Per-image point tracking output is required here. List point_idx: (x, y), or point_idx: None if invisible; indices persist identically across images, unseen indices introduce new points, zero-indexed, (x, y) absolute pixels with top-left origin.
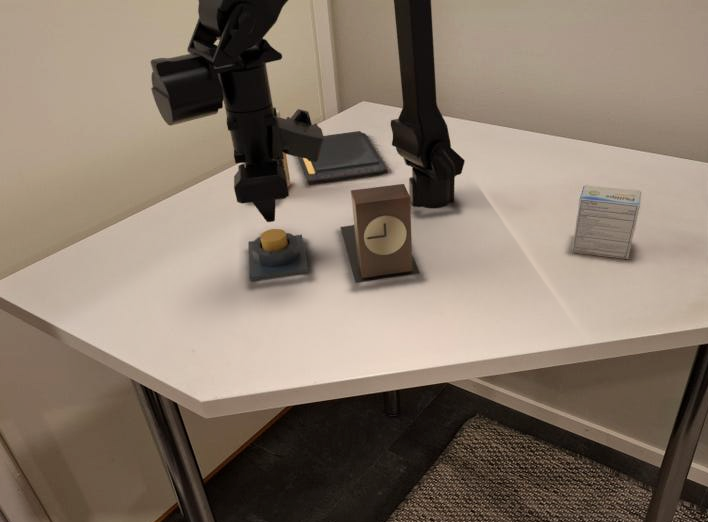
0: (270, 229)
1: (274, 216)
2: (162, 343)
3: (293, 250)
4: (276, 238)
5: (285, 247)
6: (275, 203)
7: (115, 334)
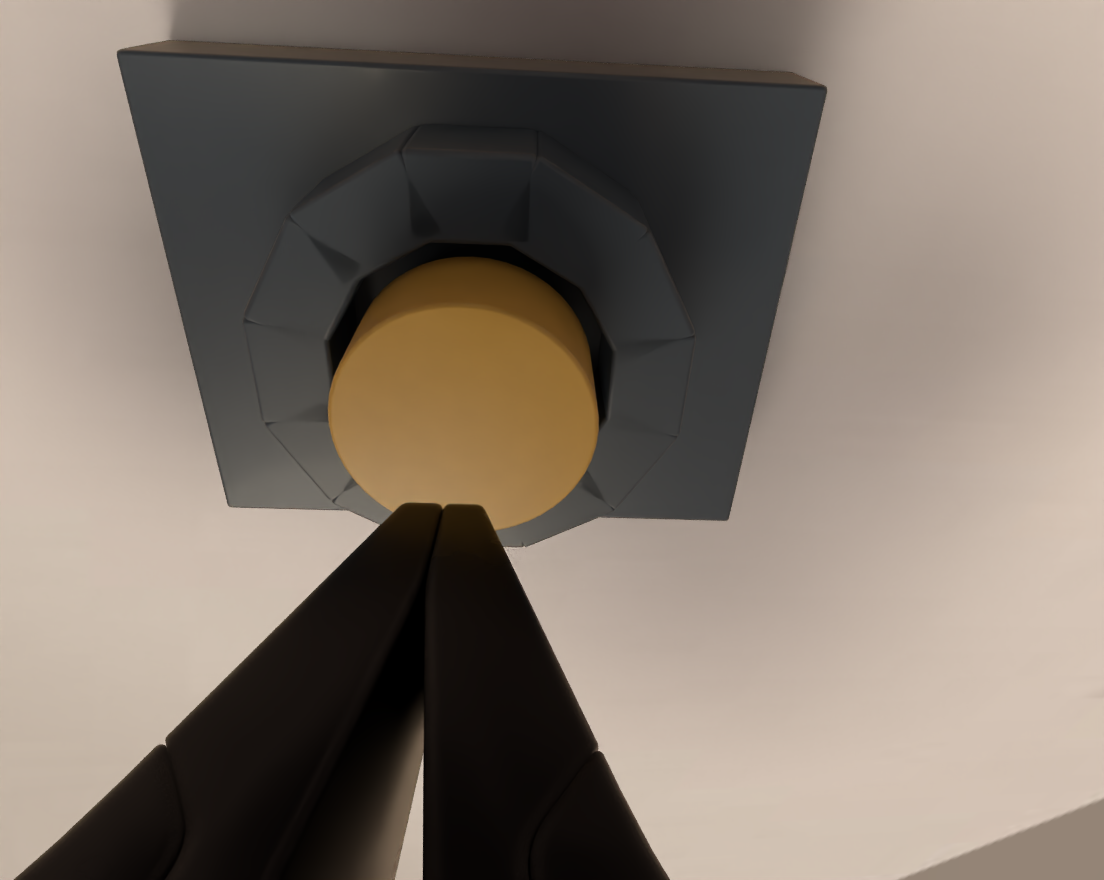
0: (336, 445)
1: (499, 546)
2: (966, 774)
3: (637, 218)
4: (553, 407)
5: (551, 289)
6: (581, 715)
7: (811, 874)
